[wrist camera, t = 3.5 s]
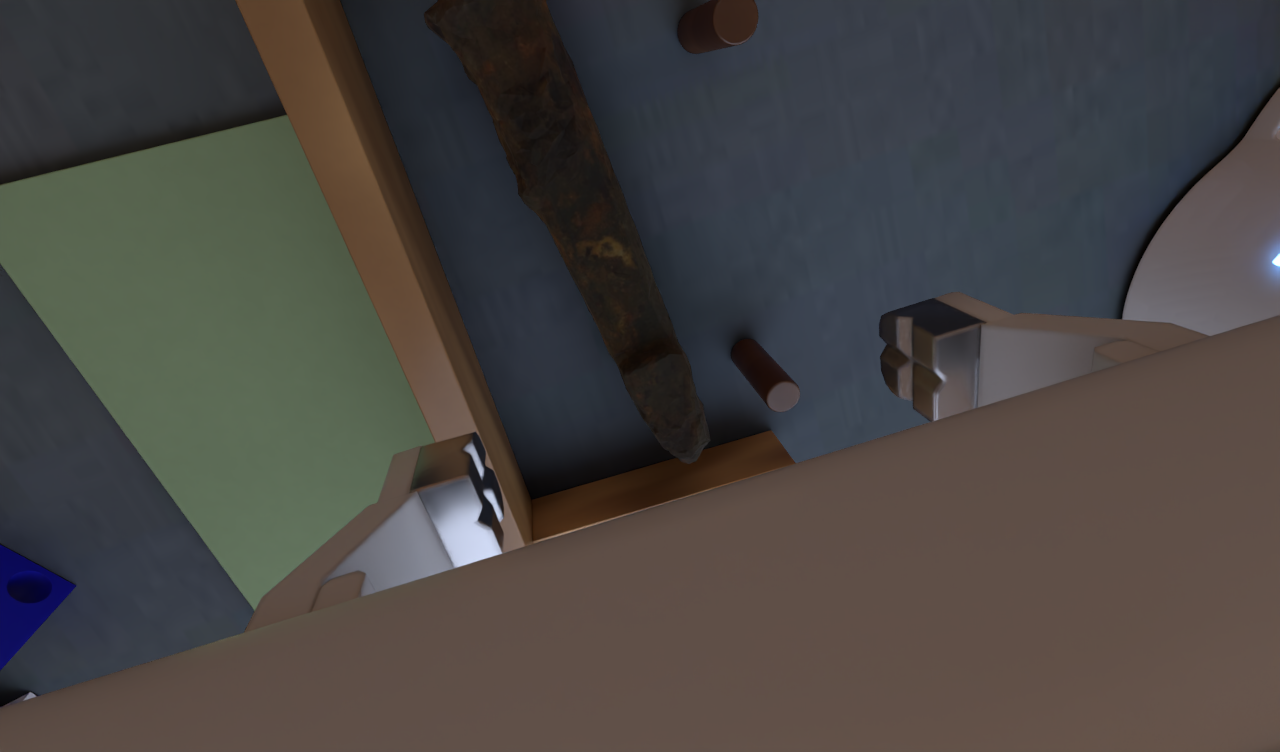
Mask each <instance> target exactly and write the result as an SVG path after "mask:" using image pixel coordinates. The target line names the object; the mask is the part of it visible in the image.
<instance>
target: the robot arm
mask: <svg viewBox="0 0 1280 752" xmlns="http://www.w3.org/2000/svg"><path fill="white" fill-rule="evenodd" d="M879 336H880V337H881V338H882V339H883V341H884V342H885V343H886V344H887V345H886V347H885V349H884V350H883V352H882V354H881V356H880V361H881V372H882V375H883V377H884V380H885V383H886V385H887V386H888V387H889V389H890V390H891V391H892V392H893V393H894V394H895V395H896V396H898V397H899V398H902V399H906V400H911V401H913V409H914V410H916V411H917V412H918V413H920V414H921V415H922V416H924V417H925V418H926V419H928V420H929V421H930V422H929V423H926V424H923V425H920V426H916V427H913V428H910V429H907V430H903V431H900V432H897V433H894V434H890V435H887V436H884V437H881V438H877V439H874V440H871V441H868V442H864V443H861V444H858V445H855V446H851V447H848V448H845V449H842V450H838V451H835V452H832V453H828V454H825V455H822V456H819V457H815V458H812V459H809V460H806V461H802V462H799V463H796V464H793V465H789V466H786V467H783V468H779V469H776V470H773V471H770V472H766V473H763V474H760V475H757V476H753V477H750V478H747V479H744V480H740V481H737V482H734V483H731V484H727V485H724V486H721V487H717V488H714V489H711V490H708V491H704V492H701V493H698V494H695V495H691V496H688V497H685V498H682V499H678V500H675V501H672V502H668V503H665V504H662V505H659V506H655V507H652V508H649V509H646V510H642V511H639V512H636V513H633V514H629V515H626V516H623V517H619V518H616V519H613V520H610V521H606V522H603V523H600V524H597V525H593V526H590V527H587V528H584V529H580V530H577V531H574V532H570V533H567V534H564V535H561V536H557V537H554V538H551V539H548V540H544V541H541V542H538V543H535V544H531V545H528V546H525V547H521V548H518V549H515V550H512V551H508V552H505V553H503V550H504V532H503V530H502V527H501V525H500V522H501V521H502V519H503V518H504V505H503V499H502V493H501V490H500V487H499V483H498V480H497V478H496V475H495V473H494V470H492V469H490V468H489V467H487V466H485V460H486V450H485V448H484V446H483V443H482V441H481V439H480V436H479V435H478V434H477V433H476V432H472V433H468V434H465V435H461V436H457V437H453V438H450V439H446V440H442V441H439V442H435V443H431V444H428V445H424V446H418V447H415V448H412V449H409V450H406V451H403V452H400V453H397V454H394V455H393V457H392V460H391V463H390V466H389V469H388V472H387V475H386V478H385V481H384V484H383V487H382V490H381V493H380V496H379V499H378V502H377V503H375V504H371V505H369V506H368V507H366V508H365V509H364V510H363V511H362V512H361V513H359V514H358V515H357V516H356V517H355V518H354V519H352V520H351V521H350V522H349V523H348V524H347V525H345V526H344V527H343V528H342V529H341V530H340V531H338V532H337V533H336V534H335V535H334V536H333V537H332V538H330V539H329V540H328V541H327V542H326V543H325V544H323V545H322V546H321V547H320V548H319V549H318V550H316V551H315V552H314V553H313V554H312V555H311V556H309V557H308V558H307V559H306V560H305V561H304V562H302V563H301V564H300V565H299V566H298V567H297V568H296V569H294V570H293V571H292V572H291V573H290V574H289V575H287V576H286V577H285V578H284V579H283V580H282V581H280V582H279V583H278V584H277V585H276V586H275V587H273V588H272V589H271V590H270V591H269V592H268V593H266V594H265V595H264V596H263V597H262V598H261V600H260V602H259V604H258V606H257V608H256V610H255V612H254V614H253V616H252V618H251V620H250V622H249V623H248V625H247V627H246V629H245V631H244V633H242V634H239V635H235V636H232V637H229V638H226V639H222V640H219V641H216V642H213V643H209V644H206V645H203V646H200V647H196V648H193V649H190V650H187V651H183V652H180V653H177V654H174V655H170V656H167V657H164V658H160V659H157V660H154V661H151V662H147V663H144V664H141V665H138V666H134V667H131V668H128V669H125V670H121V671H118V672H115V673H112V674H108V675H105V676H102V677H99V678H95V679H92V680H89V681H86V682H82V683H79V684H76V685H73V686H69V687H66V688H63V689H59V690H56V691H53V692H50V693H46V694H43V695H40V696H37V697H33V698H30V699H27V700H24V701H20V702H17V703H14V704H10V705H6V706H3V707H0V752H1280V88H1279V89H1278V90H1277V91H1276V92H1275V94H1274V95H1273V96H1272V97H1271V99H1270V100H1269V101H1268V103H1267V104H1266V106H1265V107H1264V108H1263V110H1262V111H1261V113H1260V114H1259V116H1258V117H1257V119H1256V120H1255V121H1254V123H1253V124H1252V126H1251V127H1250V129H1249V130H1248V132H1247V134H1246V135H1245V137H1244V138H1243V139H1242V141H1241V142H1240V143H1239V144H1238V145H1237V146H1236V147H1235V148H1234V149H1233V150H1232V151H1231V152H1230V153H1229V154H1228V155H1227V156H1226V157H1225V158H1224V159H1223V160H1221V161H1220V162H1219V163H1218V164H1217V165H1216V166H1215V167H1214V168H1212V169H1211V170H1210V171H1209V172H1208V173H1207V174H1206V175H1205V176H1204V177H1203V178H1201V179H1200V180H1199V181H1198V182H1197V183H1196V184H1195V185H1194V186H1193V187H1192V188H1191V189H1190V191H1189V192H1188V193H1187V194H1186V195H1185V196H1184V197H1183V198H1182V199H1181V201H1180V202H1179V203H1178V204H1177V205H1176V206H1175V208H1174V209H1173V210H1172V211H1171V213H1170V214H1169V215H1168V217H1167V218H1166V219H1165V221H1164V222H1163V224H1162V225H1161V226H1160V228H1159V229H1158V231H1157V232H1156V234H1155V236H1154V237H1153V239H1152V240H1151V242H1150V244H1149V245H1148V247H1147V249H1146V251H1145V253H1144V255H1143V257H1142V259H1141V260H1140V262H1139V265H1138V267H1137V269H1136V271H1135V274H1134V276H1133V279H1132V282H1131V284H1130V287H1129V290H1128V293H1127V297H1126V301H1125V305H1124V310H1123V316H1122V320H1121V319H1106V318H1091V317H1076V316H1061V315H1046V314H1031V313H1019V314H1016V315H1013V314H1011V313H1008V312H1006V311H1003V310H1001V309H999V308H996V307H994V306H991V305H989V304H987V303H984V302H982V301H980V300H977V299H975V298H972V297H970V296H968V295H965V294H963V293H960V292H951V293H948V294H945V295H942V296H939V297H936V298H932V299H928V300H925V301H922V302H919V303H916V304H913V305H909V306H906V307H903V308H900V309H897V310H893V311H890V312H888V313H886V314H884V315H882V316H881V319H880V323H879Z"/></svg>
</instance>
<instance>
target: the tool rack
mask: <svg viewBox="0 0 1280 752" xmlns="http://www.w3.org/2000/svg"><path fill="white" fill-rule="evenodd" d="M235 1H236V3H237V5H238V7H239V9H240V12H241V14H242V16H243V18H244V21H245V23H246V25H247V27H248V29H249V32H250V34H251V36H252V38H253V40H254V43H255V45H256V47H257V49H258V52H259V54H260V56H261V58H262V60H263V63H264V65H265V67H266V69H267V71H268V74H269V76H270V78H271V80H272V83H273V85H274V87H275V89H276V91H277V94H278V96H279V98H280V100H281V102H282V105H283V107H284V109H285V111H286V113H287V116H288V118H289V120H290V122H291V125H292V127H293V129H294V131H295V133H296V136H297V138H298V140H299V142H300V144H301V147H302V149H303V151H304V153H305V156H306V158H307V160H308V162H309V164H310V167H311V169H312V171H313V173H314V175H315V178H316V180H317V182H318V184H319V186H320V189H321V191H322V193H323V195H324V198H325V200H326V202H327V204H328V206H329V209H330V211H331V213H332V215H333V217H334V220H335V222H336V224H337V226H338V229H339V231H340V233H341V235H342V237H343V240H344V242H345V244H346V246H347V248H348V251H349V253H350V255H351V257H352V260H353V262H354V264H355V266H356V268H357V271H358V273H359V275H360V277H361V279H362V282H363V284H364V286H365V288H366V290H367V293H368V295H369V297H370V299H371V302H372V304H373V306H374V308H375V310H376V313H377V315H378V317H379V319H380V321H381V324H382V326H383V328H384V330H385V333H386V335H387V337H388V339H389V341H390V344H391V346H392V348H393V350H394V352H395V355H396V357H397V359H398V361H399V363H400V366H401V368H402V370H403V372H404V375H405V377H406V379H407V381H408V383H409V386H410V388H411V390H412V392H413V394H414V397H415V399H416V401H417V403H418V406H419V408H420V410H421V412H422V414H423V417H424V419H425V421H426V423H427V425H428V428H429V430H430V432H431V434H432V437H433V439H434V441H435V442H439V441H442V440H446V439H450V438H453V437H457V436H461V435H465V434H468V433H472V432H476V433H477V434H478V435H479V436H480V439H481V441H482V443H483V446H484V448H485V450H486V460H485V466H487V467H489V468H490V469H492V470H494V473H495V475H496V478H497V480H498V483H499V487H500V490H501V493H502V499H503V505H504V518H503V519H502V521H501V522H500V525H501V527H502V530H503V532H504V550H503V553H505V552H508V551H512V550H515V549H518V548H521V547H525V546H528V545H531V544H535V543H538V542H541V541H544V540H548V539H551V538H554V537H557V536H561V535H564V534H567V533H570V532H574V531H577V530H580V529H584V528H587V527H590V526H593V525H597V524H600V523H603V522H606V521H610V520H613V519H616V518H619V517H623V516H626V515H629V514H633V513H636V512H639V511H642V510H646V509H649V508H652V507H655V506H659V505H662V504H665V503H668V502H672V501H675V500H678V499H682V498H685V497H688V496H691V495H695V494H698V493H701V492H704V491H708V490H711V489H714V488H717V487H721V486H724V485H727V484H731V483H734V482H737V481H740V480H744V479H747V478H750V477H753V476H757V475H760V474H763V473H766V472H770V471H773V470H776V469H779V468H783V467H786V466H789V465H793V464H796V463H795V462H794V460H793V459H792V458H791V456H790V455H789V454H788V452H787V451H786V450H785V448H784V447H783V446H782V444H781V443H780V441H779V440H778V439H777V437H776V436H775V435H774V433H773V432H772V431H771V430H770V431H767V432H763V433H760V434H756V435H753V436H749V437H746V438H743V439H739V440H736V441H732V442H729V443H725V444H722V445H719V446H715V447H712V448H708V449H705V450H702V452H701V454H700V456H699V457H698V459H697V461H696V462H694V463H693V462H692V463H690V464H687V463H684V462H681V461H680V460H679V459H678V458H674V459H670V460H667V461H664V462H660V463H657V464H653V465H650V466H646V467H643V468H640V469H636V470H633V471H629V472H626V473H622V474H619V475H616V476H612V477H609V478H605V479H602V480H598V481H595V482H592V483H588V484H585V485H581V486H578V487H574V488H571V489H568V490H564V491H561V492H557V493H554V494H550V495H547V496H543V497H540V498H537V499H533V500H531V498H530V495H529V492H528V490H527V487H526V485H525V482H524V479H523V477H522V474H521V472H520V469H519V466H518V464H517V461H516V458H515V456H514V453H513V451H512V448H511V445H510V443H509V440H508V438H507V435H506V432H505V430H504V427H503V425H502V422H501V419H500V417H499V414H498V412H497V409H496V406H495V404H494V401H493V398H492V396H491V393H490V391H489V388H488V385H487V383H486V380H485V378H484V375H483V372H482V370H481V367H480V365H479V362H478V359H477V357H476V354H475V352H474V349H473V346H472V344H471V341H470V339H469V336H468V333H467V331H466V328H465V325H464V323H463V320H462V318H461V315H460V312H459V310H458V307H457V305H456V302H455V299H454V297H453V294H452V292H451V289H450V286H449V284H448V281H447V279H446V276H445V273H444V271H443V268H442V266H441V263H440V260H439V258H438V255H437V252H436V250H435V247H434V245H433V242H432V239H431V237H430V234H429V232H428V229H427V226H426V224H425V221H424V219H423V216H422V213H421V211H420V208H419V206H418V203H417V200H416V198H415V195H414V193H413V190H412V187H411V185H410V182H409V179H408V177H407V174H406V172H405V169H404V166H403V164H402V161H401V159H400V156H399V153H398V151H397V148H396V146H395V143H394V140H393V138H392V135H391V133H390V130H389V127H388V125H387V122H386V120H385V117H384V114H383V112H382V109H381V106H380V104H379V101H378V99H377V96H376V93H375V91H374V88H373V86H372V83H371V80H370V78H369V75H368V73H367V70H366V67H365V65H364V62H363V60H362V57H361V54H360V52H359V49H358V47H357V44H356V41H355V39H354V36H353V33H352V31H351V28H350V26H349V23H348V20H347V18H346V15H345V13H344V10H343V7H342V5H341V2H340V0H235ZM757 23H758V9H757V6H756V3H755V1H754V0H710V1H708V2H706V3H704V4H702V5H700V6H698V7H696V8H694V9H692V10H690V11H688V12H687V13H685V14H684V15H683V17H682V18H681V20H680V22H679V25H678V38H679V41H680V43H681V45H682V47H683V48H684V49H685V50H686V51H688V52H690V53H694V54H699V53H704V52H708V51H713V50H717V49H722V48H727V47H731V46H736V45H740V44H742V43H744V42H746V41H747V40H748V39H750V37H751V36H752V35H753V33H754V32H755V29H756V27H757ZM731 358H732V361H733V362H734V364H735V365H736V366H737V368H738V369H739V370H740V371H741V373H742V374H743V375H744V376H745V378H746V379H747V380H748V382H749V383H750V384H751V385H752V387H753V388H754V389H755V390H756V392H757V393H758V394H759V396H760V397H761V398H762V399H763V401H764V402H765V403H766V405H767V406H768V407H769V408H770V409H771V410H773V411H776V412H784V411H787V410H789V409H791V408H792V407H794V406H795V405H796V403H797V402H798V400H799V397H800V390H799V387H798V385H797V384H796V383H795V382H794V381H793V380H792V379H791V378H790V377H789V376H788V374H787V373H786V372H785V371H784V370H783V369H782V368H781V367H780V366H779V365H778V364H777V363H776V362H775V361H774V360H773V359H772V357H771V356H770V355H769V354H768V353H767V352H766V351H765V350H764V349H763V348H762V347H761V346H760V345H759V344H758V343H757V342H756V341H755V340H752V339H743V340H741V341H739V342H738V343H736V344H735V346H734V347H733V349H732V352H731Z"/></svg>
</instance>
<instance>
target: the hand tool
mask: <svg viewBox="0 0 1280 752" xmlns="http://www.w3.org/2000/svg"><path fill="white" fill-rule="evenodd" d="M424 17H425V23H426V25H427V26H428V28H429V29H430V30H432V31H433V32H434V33H435V34H437V35H438V36H439V37H440V38H442V39H443V40H444V41H445V42H446V43H448V44H449V45H450V46H451V48H452V49H453V51H454V52H455V53H456V54H457V56H458V57H459V59H460V61H461V62H462V64H463V67H464V70H465V73H466V74H467V76H468V78H469V79H470V80H471V81H472V82H474V83H475V84H476V85H477V86H478V88H479V90H480V93H481V95H482V97H483V99H484V102H485V104H486V107H487V109H488V111H489V113H490V115H491V117H492V119H493V123H494V126H495V129H496V132H497V135H498V138H499V141H500V143H501V144H502V146H503V148H504V150H505V152H506V155H507V157H506V158H507V161H508V163H509V166H510V168H511V169H512V170H513V173H514V174H515V175H516V179H517V183H518V194H519V196H520V197H521V199H522V200H523V202H524V203H525V204H526V205H527V206H528V207H529V208H530V209H531V210H533V211H534V212H535V213H536V214H537V215H538V216H539V217H540V219H541V220H542V221H543V222H544V223H545V224H546V226H547V228H548V230H549V231H550V233H551V235H552V237H553V239H554V242H555V244H556V246H557V248H558V250H559V252H560V254H561V256H562V258H563V260H564V261H565V264H566V266H567V268H568V270H569V272H570V274H571V276H572V278H573V280H574V282H575V283H576V285H577V287H578V289H579V291H580V293H581V295H582V297H583V298H584V301H585V303H586V305H587V307H588V310H589V311H590V313H591V315H592V316H593V319H594V321H595V323H596V324H597V326H598V329H599V331H600V333H601V335H602V338H603V341H604V343H605V345H606V347H607V350H608V352H609V354H610V355H611V357H612V358H613V359H614V361H615V362H616V364H617V366H618V368H619V370H620V373H621V376H622V379H623V381H624V384H625V386H626V389H627V391H628V393H629V394H630V396H631V398H632V400H633V401H634V403H635V405H636V407H637V409H638V411H639V413H640V415H641V416H642V418H643V420H644V421H645V422H646V424H647V425H648V426H649V428H650V429H651V431H652V432H653V434H654V436H655V437H656V438H657V439H658V441H659V443H660V444H661V446H662V447H663V448H664V449H665V450H668V451H669V452H670V453H671V455H674V456H676V457H677V458H678V459H679V460H680V461H681V462H684V463H687V464H690V463H692V462H693V463H694V462H696V461H697V459H698V457H699V456H700V454H701V452H702V450H703V448H705V446H706V445H707V444H708V442H709V441H710V435H709V431H708V426H707V422H706V419H705V414H704V408H703V404H702V402H701V401H700V400H699V398H698V397H697V395H696V389H695V385H694V382H693V379H692V372H691V366H690V364H689V361H688V358H687V356H686V354H685V352H684V351H683V349H682V347H681V346H680V344H679V343H678V340H677V337H676V334H675V331H674V328H673V325H672V323H671V320H670V317H669V315H668V313H667V310H666V308H665V305H664V303H663V300H662V298H661V295H660V292H659V290H658V288H657V286H656V283H655V281H654V278H653V274H652V271H651V268H650V265H649V263H648V260H647V258H646V255H645V253H644V250H643V246H642V243H641V240H640V237H639V234H638V232H637V229H636V226H635V224H634V222H633V219H632V217H631V215H630V213H629V210H628V207H627V204H626V201H625V198H624V195H623V193H622V190H621V188H620V185H619V183H618V181H617V178H616V176H615V174H614V172H613V169H612V166H611V163H610V160H609V158H608V155H607V152H606V150H605V147H604V144H603V142H602V139H601V136H600V133H599V130H598V128H597V125H596V123H595V121H594V118H593V116H592V114H591V111H590V109H589V106H588V104H587V101H586V98H585V95H584V93H583V90H582V87H581V85H580V82H579V79H578V77H577V74H576V71H575V68H574V65H573V62H572V60H571V58H570V57H569V55H568V53H567V51H566V49H565V48H564V45H563V43H562V40H561V38H560V35H559V33H558V31H557V29H556V26H555V24H554V22H553V19H552V17H551V14H550V11H549V9H548V6H547V3H546V0H438V2H437V3H435V4H434V5H433V6H432V7H431V8H429V9H428V10H427V11H426V12H425V13H424Z"/></svg>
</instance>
